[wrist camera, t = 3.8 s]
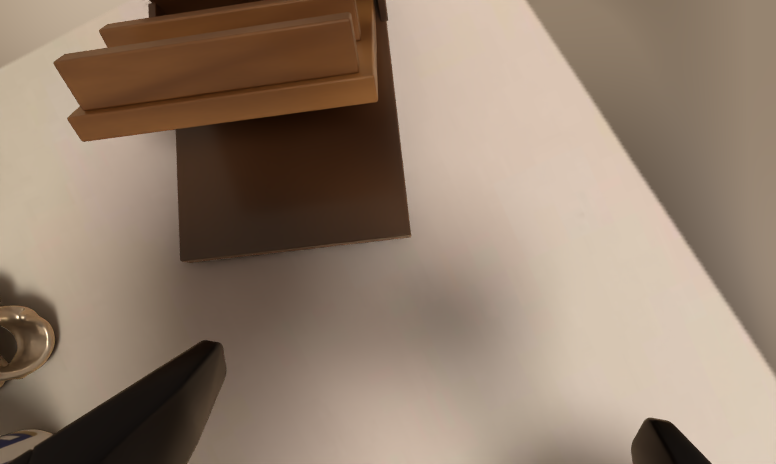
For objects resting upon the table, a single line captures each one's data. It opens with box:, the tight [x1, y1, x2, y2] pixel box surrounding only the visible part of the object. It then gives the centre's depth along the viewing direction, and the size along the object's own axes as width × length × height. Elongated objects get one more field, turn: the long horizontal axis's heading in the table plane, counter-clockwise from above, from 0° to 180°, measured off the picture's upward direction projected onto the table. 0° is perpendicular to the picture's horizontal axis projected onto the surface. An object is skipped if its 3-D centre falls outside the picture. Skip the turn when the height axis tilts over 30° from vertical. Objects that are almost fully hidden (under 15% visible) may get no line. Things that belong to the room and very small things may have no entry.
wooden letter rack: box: [54, 0, 378, 142], centre depth 19 cm, size 11×11×3 cm
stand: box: [149, 0, 411, 263], centre depth 22 cm, size 14×12×6 cm
